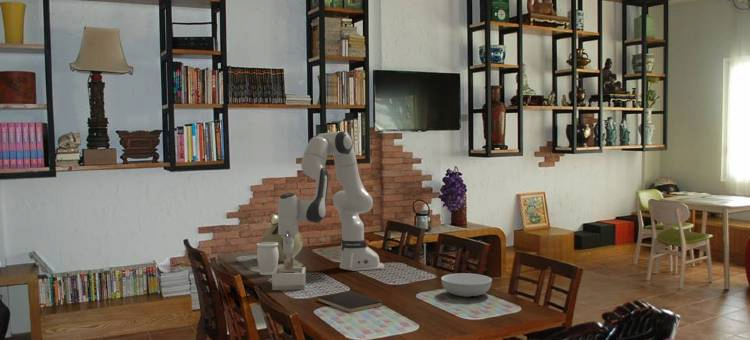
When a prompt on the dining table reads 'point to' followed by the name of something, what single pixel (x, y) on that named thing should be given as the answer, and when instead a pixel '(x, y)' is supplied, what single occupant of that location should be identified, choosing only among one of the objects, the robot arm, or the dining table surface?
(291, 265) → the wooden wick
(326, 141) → the robot arm
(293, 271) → the white square box
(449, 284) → the serving bowl
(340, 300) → the hardcover book
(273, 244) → the jar
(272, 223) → the beige rounded piece
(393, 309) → the dining table surface
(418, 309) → the dining table surface
